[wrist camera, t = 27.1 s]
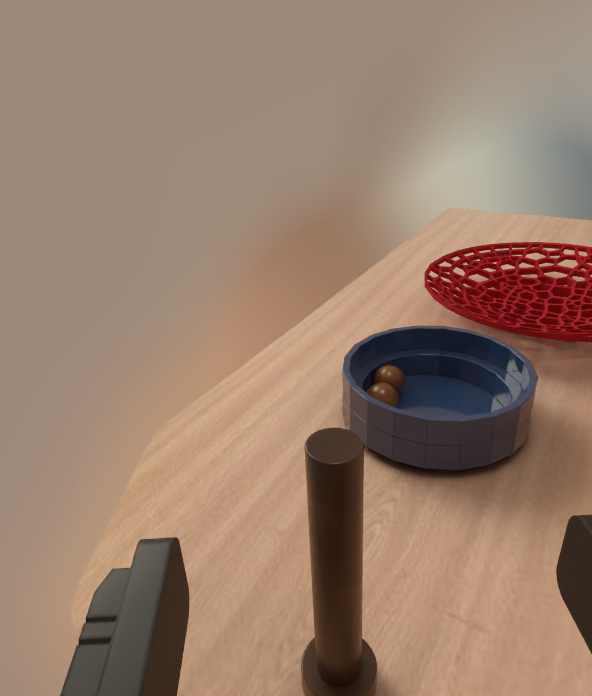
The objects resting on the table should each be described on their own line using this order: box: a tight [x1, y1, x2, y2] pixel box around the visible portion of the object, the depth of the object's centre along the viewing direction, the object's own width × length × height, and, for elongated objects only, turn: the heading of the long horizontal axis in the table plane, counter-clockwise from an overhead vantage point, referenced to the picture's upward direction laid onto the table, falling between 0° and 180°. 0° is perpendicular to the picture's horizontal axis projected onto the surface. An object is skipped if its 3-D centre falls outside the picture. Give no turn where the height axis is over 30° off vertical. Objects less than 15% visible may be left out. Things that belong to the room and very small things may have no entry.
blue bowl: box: [343, 326, 538, 470], centre depth 50 cm, size 16×16×6 cm
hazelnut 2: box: [367, 383, 399, 408], centre depth 50 cm, size 3×3×3 cm
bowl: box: [425, 242, 592, 342], centre depth 67 cm, size 29×30×5 cm
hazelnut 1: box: [373, 365, 405, 394], centre depth 53 cm, size 3×3×3 cm
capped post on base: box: [301, 428, 377, 696], centre depth 26 cm, size 4×4×16 cm
